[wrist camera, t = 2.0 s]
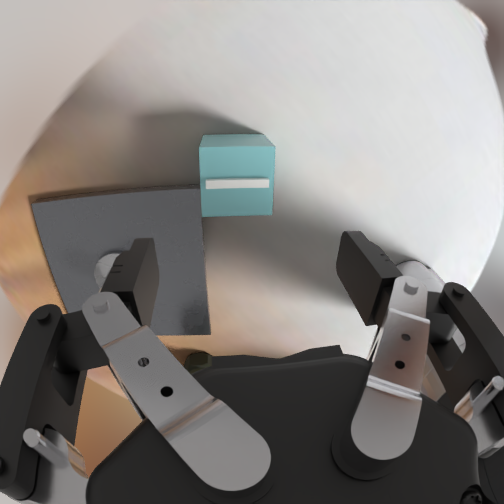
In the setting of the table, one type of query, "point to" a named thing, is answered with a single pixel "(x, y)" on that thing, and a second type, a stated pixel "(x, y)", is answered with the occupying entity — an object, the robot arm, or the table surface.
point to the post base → (121, 239)
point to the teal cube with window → (236, 175)
